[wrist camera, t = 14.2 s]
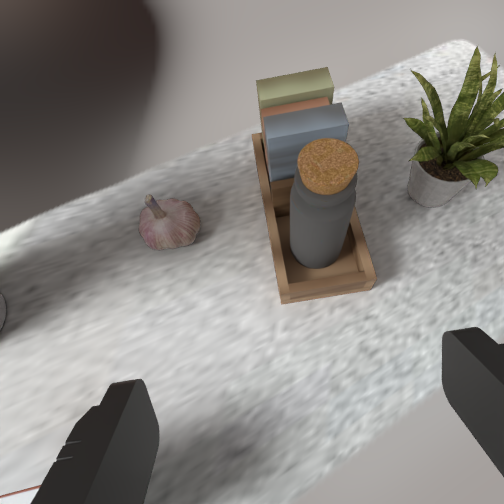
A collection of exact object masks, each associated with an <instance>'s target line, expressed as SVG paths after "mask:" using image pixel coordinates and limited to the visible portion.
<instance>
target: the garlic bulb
mask: <svg viewBox="0 0 504 504" xmlns="http://www.w3.org/2000/svg"><path fill="white" fill-rule="evenodd" d="M145 204H146V205H147V206H148V207H146V208H145V209H143V211H142V212H141V214H140V223H139V232H140V234H141V236H142V237H143V238H144V240H145V243H146V244H147V245H148V246H149V247H150V248H152V249H155V250H163V249H166V248H170V249H171V248H172V249H173V248H177V247H180V246H187V245H190V244H191V243H193V242H194V240H195V237H196V234H197V233H198V232H199V230H200V218H199V216H198V214H197V213H196V212H195V211H194V210H193V208H192V206H191V205H190V204H189V203H188V202H186V201H179V200H177V199H173V198H172V199H167V200H157V201H155V199H154V198H153V196H152V195H147V196H146V198H145Z"/></svg>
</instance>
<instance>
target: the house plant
mask: <svg viewBox="0 0 504 504" xmlns="http://www.w3.org/2000/svg"><path fill="white" fill-rule="evenodd" d="M480 58H481V55H480V52H479V50H478V46H477V47H476V49H475V51H474V54H473V56H472V59H471V61H470V65H469V68H468V70H467V73H466V77H465V80H464V83H463V86H462V89H461V92H460V94H459V96H458V99H457V101H456V103H455V104H454V106H453V108H452V111H451V114H450V117H449V121H448V126H447V128H446V124H445V121H444V116H443V110H442V105H441V102H440V99H439V96H438V94H437V92H436V90H435V88H434V87H433V86H432V85H431V84H430V83H429V82H428V81H427V80H426V79H425V78H424V77H423V76H422V75H421V74H420V73H417V72H414V71H411V72H412V73H413V74H414V75H415V76H416V78H417V79H418V81H419V82H420V84H421V85H422V87H423V88H424V90H425V92H426V94H427V97H428V99H429V101H430V104H431V106H432V110H433V113H434V118H435V119H434V118H433V117H431V116H430V115H429V111H428V108H427V105H426V103H425V102H424V100H423V99H422V98H421V99H422V101H421V103H422V107H423V122H424V123H423V122H422V121H421V120H418V119H415V118H402V119H405V121H406V123H407V125H408V126H409V127H410V128H411V129H412V130H413V131H414V132H415V133H417V134H418V135H419V136H420V137H421V138H422V140H421V141H419V143H418V145H417V146H416V148H415V153H414V156H413V158H412V159H410V160H409V161H411V160H413V162H412V167H411V172H410V177H409V182H408V187H407V188H408V193H409V195H410V197H411V198H412V199H413V200H415V201H416V202H417V203H419V204H420V205H422V206H426V207H439V206H442V205H444V204H445V203H447V202H448V201H449V200H450V199H451V198H452V197H454V196H455V195H456V194H457V193H458V192H459V191H461V190H462V189H463V188H464V187H465V186H466V185H467V184H469V183H470V182H472V183H473V184H474V185H475V187H476V188H477V184H478V182H479V180H480V176H481V177H482V178H483V179H484V181H485V182H486V186H487V185H488V183H489V182H490V181H491V180H492V179H493V178H495V177H496V176H497V173H498V167H497V166H496V165H495V164H494V163H492V162H490V161H488V160H484V156H483V155H485V154H487V153H489V152H491V151H494V150H498V149H501V148H504V128H503V127H504V119H502V120H500V121H499V118H496V119H494V118H495V117H496V116H497V115H498V114H499V113H500V112H501V111H502V110H503V109H504V92H503V93H502V94H501V95H500V96H499V97H498V98H497V99H496V100H495V98H496V97H497V96H498V95H499V94H500V93H501V91H502V89H500V90H498V91H497V92H495V93H493V92H494V89H495V86H496V80H497V68H498V67H499V66H500V65H499V66H498V67H497V60H496V56H495V55H494V58H493V63H492V68H491V71H490V72H489V73H487V74H485V75H484V76H482V77H481V69H480ZM410 70H411V69H410ZM489 75H490V78H489V81H488V84H487V86H486V88H485V90H484V92H483V94H482V81H483V80H484V79H486V78H487V77H488V76H489ZM478 90H479V95H478V99H477V103H476V105H475V106H474V108H473V111H472V114H471V115H470V117H469V114H470V112H471V110H472V107H473V105H474V102H475V99H476V96H477V93H478ZM494 100H495V101H494ZM493 101H494V102H493ZM491 104H492V105H491ZM468 117H469V119H468ZM493 121H494V124H493V125H492V126H490V127H488V126H489V125H490V124H491V123H492V122H493ZM433 126H434V127H435V128H436V129H437V130H438V131H439V132H437V133H435V130H434V127H433ZM486 127H488V128H487V129H485V128H486ZM501 128H503V129H501ZM484 129H485V130H484ZM488 142H489V143H488ZM486 143H487V144H486ZM486 186H485V187H486Z"/></svg>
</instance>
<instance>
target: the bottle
mask: <svg viewBox="0 0 504 504" xmlns="http://www.w3.org/2000/svg"><path fill="white" fill-rule="evenodd" d="M297 164H298V166H297V168H296V170H295V177H294V183H293V185H292V188H291V193H290V248H291V252H292V255H293V257H294V258H295V259H296V261H297V262H299V263H300V264H301V265H303V266H305V267H307V268H312V269H321V268H325V267H328V266H329V265H331V264H332V263H334V262H335V261H336V260H337V258H338V257H339V255H340V252H341V249H342V246H343V243H344V240H345V236H346V233H347V229H348V226H349V223H350V219H351V216H352V212H353V209H354V205H355V200H356V191H355V186H356V182H357V173H356V172H357V169H358V164H359V159H358V156H357V154H356V152H355V150H354V149H353V148H352V147H351V146H350V145H348V144H347V143H345V142H344V141H341V140H338V139H333V138H322V139H318V140H314V141H312V142H310V143H309V144H307V145H306V146H305V147H304V148H303V149H302V150H301V152H300V153H299V156H298V160H297Z"/></svg>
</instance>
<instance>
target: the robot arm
mask: <svg viewBox="0 0 504 504" xmlns="http://www.w3.org/2000/svg"><path fill="white" fill-rule="evenodd" d="M5 317H6V304H5V300H4V298H3V296H2V295H1V293H0V330H1V328H2V326H3V324H4V320H5ZM442 385H443V389H444V392H445V395H446V397H447V399H448V401H449V403H450V405H451V406H452V407H453V409H454V410H455V412H456V413H457V414H458V416H459V417H460V418H461V420H462V421H463V422H464V424H465V425H466V427H467V428H468V429H469V431H470V432H471V433H472V435H473V436H474V437H475V439H476V440H477V442H478V443H479V444H480V446H481V447H482V448H483V450H484V451H485V452H486V454H487V455H488V456H489V458H490V459H491V461H492V462H493V463H494V465H495V466H496V467H497V469H498V470H499V471H500V473H501V474H502V475H503V477H504V344H497V343H496V342H495V341H494V340H493V339H492V338H491V337H489V336H488V335H487V334H486V333H485V332H484V331H482V330H481V329H480V328H478V327H471V328H465V329H459V330H452V331H446V332H445V333H444V334H443V337H442ZM158 446H159V425H158V421H157V418H156V415H155V412H154V409H153V406H152V403H151V400H150V397H149V394H148V391H147V388H146V386H145V383H144V381H143V380H142V379H136V380H129V381H123V382H117V383H112V384H111V385H110V386H109V388H108V390H107V392H106V394H105V396H104V397H103V399H102V401H101V403H100V405H98V406H93V407H92V408H91V409H90V410H89V411H88V412H87V413H86V414H85V415H84V416H83V417H82V418H81V419H80V420H79V421H78V422H77V423H76V424H75V426H74V428H73V430H72V431H71V433H70V435H69V437H68V438H67V440H66V445H65V446H63V447H62V449H61V451H60V453H59V454H58V456H57V461H56V462H54V463H53V465H52V467H51V468H50V470H49V472H48V474H47V476H46V477H45V479H44V481H43V483H42V484H41V486H40V488H39V490H38V491H37V493H36V495H35V497H34V499H33V500H32V502H31V504H143V503H144V499H145V495H146V492H147V488H148V484H149V480H150V477H151V473H152V469H153V465H154V462H155V458H156V454H157V451H158Z"/></svg>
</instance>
